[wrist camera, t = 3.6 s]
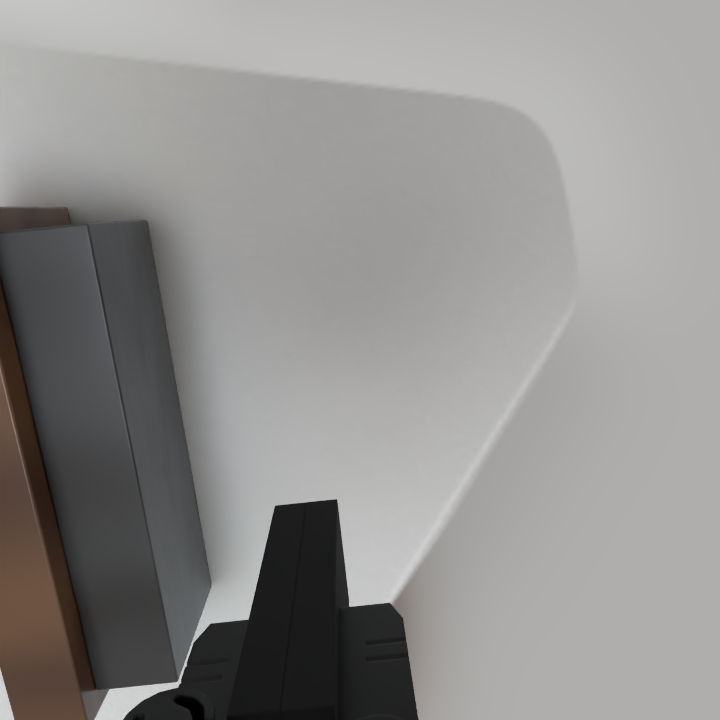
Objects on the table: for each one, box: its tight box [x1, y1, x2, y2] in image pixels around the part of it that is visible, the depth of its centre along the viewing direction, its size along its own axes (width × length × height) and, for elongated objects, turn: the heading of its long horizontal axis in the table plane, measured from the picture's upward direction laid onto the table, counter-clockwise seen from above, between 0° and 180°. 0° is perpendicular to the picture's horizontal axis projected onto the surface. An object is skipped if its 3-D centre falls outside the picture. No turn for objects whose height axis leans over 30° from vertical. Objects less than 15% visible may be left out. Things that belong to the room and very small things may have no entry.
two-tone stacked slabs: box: [0, 207, 211, 720], centre depth 23 cm, size 18×6×7 cm, turn 6°
